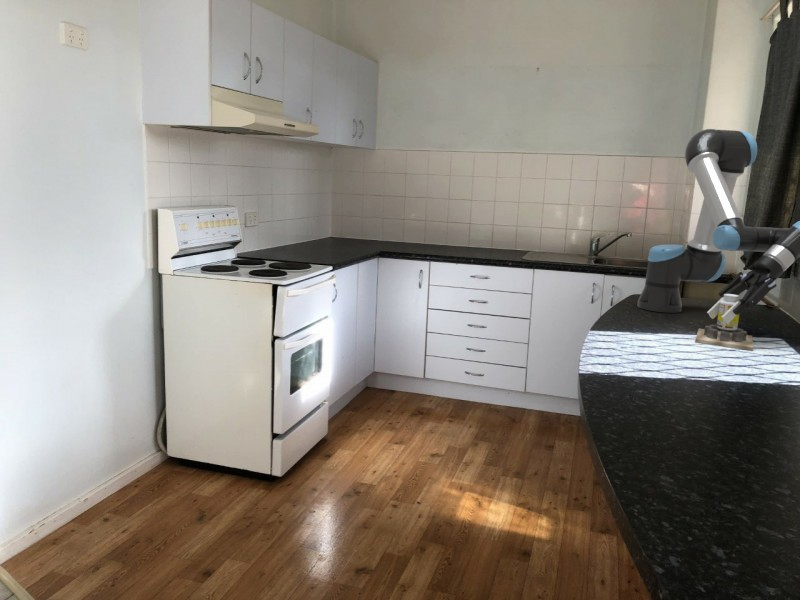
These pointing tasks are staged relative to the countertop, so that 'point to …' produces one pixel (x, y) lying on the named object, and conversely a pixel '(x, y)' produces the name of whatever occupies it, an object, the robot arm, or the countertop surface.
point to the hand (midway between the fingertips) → (717, 317)
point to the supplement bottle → (723, 308)
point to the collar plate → (723, 343)
